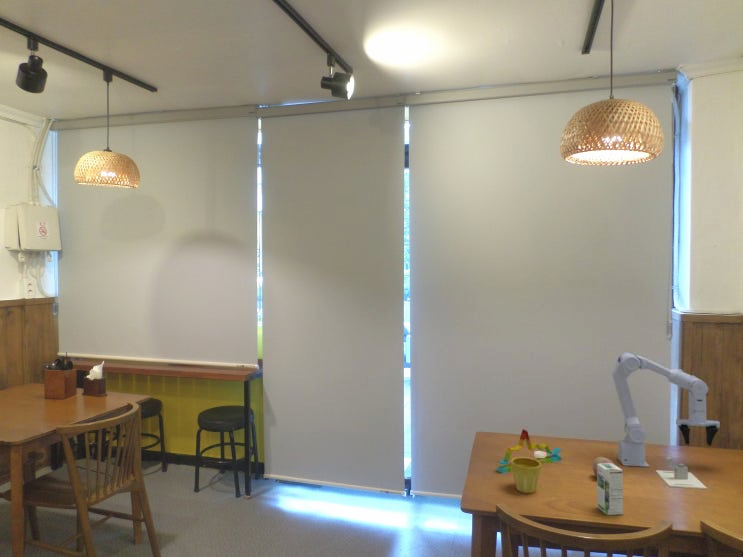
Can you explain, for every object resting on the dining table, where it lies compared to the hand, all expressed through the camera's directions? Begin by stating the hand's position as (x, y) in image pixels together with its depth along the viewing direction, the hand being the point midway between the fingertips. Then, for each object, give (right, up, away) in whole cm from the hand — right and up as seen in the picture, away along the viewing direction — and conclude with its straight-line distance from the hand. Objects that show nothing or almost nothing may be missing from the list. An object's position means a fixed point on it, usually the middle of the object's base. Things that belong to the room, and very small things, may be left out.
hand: (697, 444), depth 191 cm
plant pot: (-72, -11, -16) cm, 74 cm away
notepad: (-13, -10, -10) cm, 19 cm away
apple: (-41, -10, -8) cm, 43 cm away
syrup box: (-50, -11, -33) cm, 61 cm away
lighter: (-14, -9, -10) cm, 20 cm away
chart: (-64, -11, +6) cm, 65 cm away
